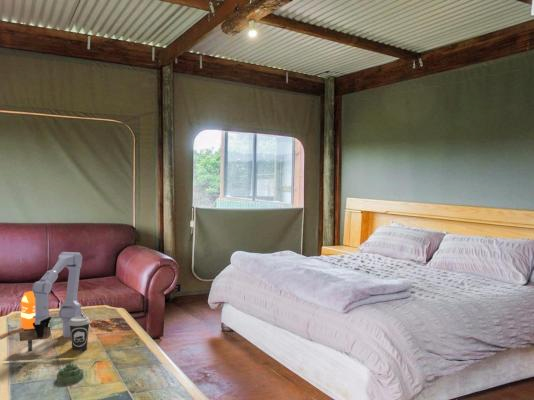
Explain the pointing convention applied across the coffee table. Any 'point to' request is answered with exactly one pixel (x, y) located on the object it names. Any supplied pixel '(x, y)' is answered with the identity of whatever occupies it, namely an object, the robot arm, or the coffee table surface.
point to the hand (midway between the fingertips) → (42, 335)
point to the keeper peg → (29, 345)
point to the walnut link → (33, 334)
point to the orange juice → (27, 310)
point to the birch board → (38, 347)
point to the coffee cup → (79, 332)
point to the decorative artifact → (69, 374)
